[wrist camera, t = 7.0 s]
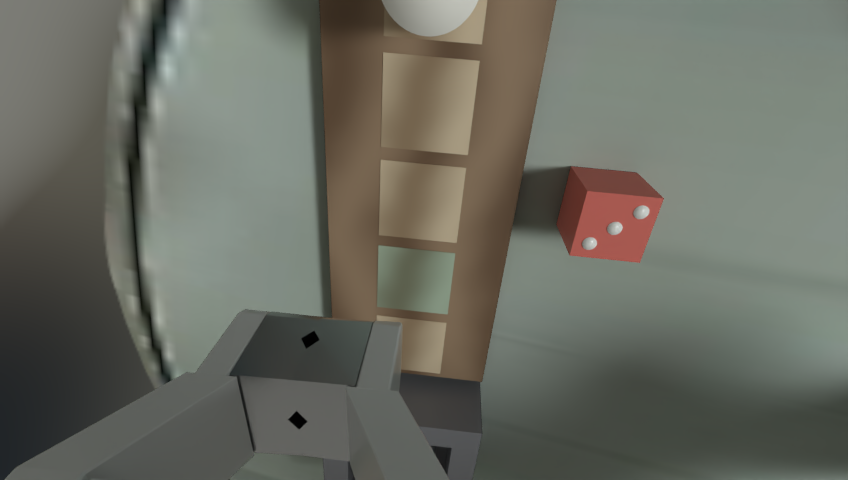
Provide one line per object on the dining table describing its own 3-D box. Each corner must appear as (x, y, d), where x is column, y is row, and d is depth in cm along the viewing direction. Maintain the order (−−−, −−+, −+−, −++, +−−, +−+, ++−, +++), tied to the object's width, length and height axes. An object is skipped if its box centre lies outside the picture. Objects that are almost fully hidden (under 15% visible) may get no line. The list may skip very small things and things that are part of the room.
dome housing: (479, 381, 35) (482, 433, 31) (462, 469, 41) (462, 524, 37) (337, 364, 36) (319, 414, 32) (340, 454, 42) (326, 506, 37)
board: (567, -79, 20) (572, -83, 20) (481, 372, 35) (481, 382, 34) (321, -98, 21) (314, -103, 20) (337, 356, 35) (333, 365, 34)
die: (636, 172, 26) (664, 198, 22) (617, 230, 28) (640, 263, 24) (571, 166, 26) (587, 191, 23) (556, 224, 28) (569, 255, 25)
